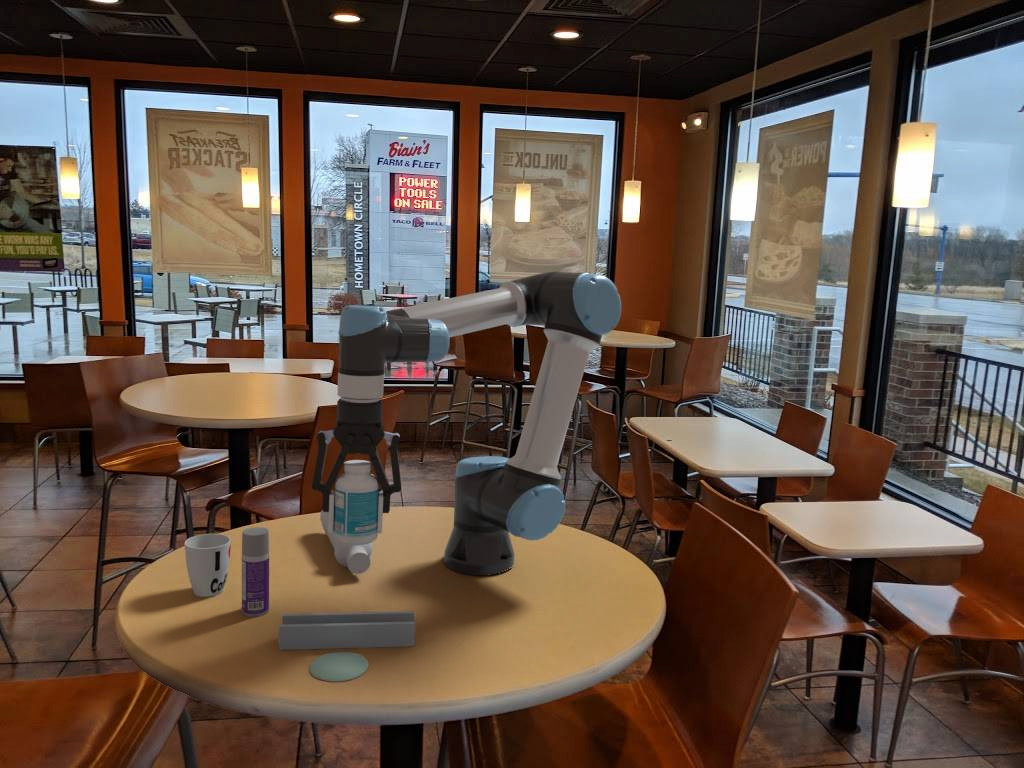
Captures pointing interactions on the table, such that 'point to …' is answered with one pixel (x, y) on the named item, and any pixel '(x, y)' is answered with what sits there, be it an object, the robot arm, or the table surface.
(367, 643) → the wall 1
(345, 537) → the pill bottle
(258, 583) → the container
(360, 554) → the bottle
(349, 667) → the spot
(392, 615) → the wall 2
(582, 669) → the table surface
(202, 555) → the cup
